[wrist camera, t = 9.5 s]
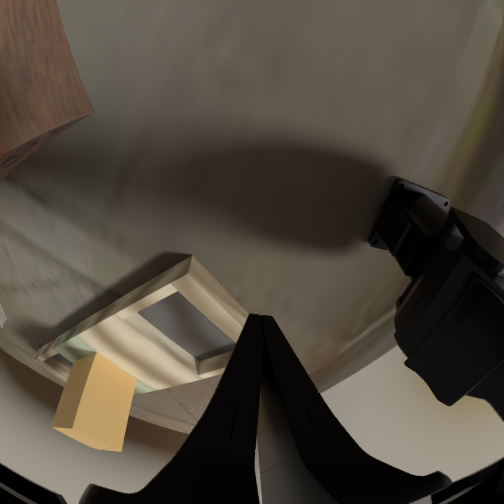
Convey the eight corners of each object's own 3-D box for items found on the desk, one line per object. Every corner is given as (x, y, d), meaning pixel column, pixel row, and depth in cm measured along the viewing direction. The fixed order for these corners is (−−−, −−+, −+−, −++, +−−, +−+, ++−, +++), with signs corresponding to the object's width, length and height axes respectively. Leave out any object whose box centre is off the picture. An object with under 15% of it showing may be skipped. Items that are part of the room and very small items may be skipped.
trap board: (192, 254, 24) (187, 273, 22) (273, 338, 31) (274, 356, 29) (39, 348, 36) (33, 359, 34) (98, 390, 43) (95, 401, 41)
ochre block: (96, 352, 30) (72, 428, 21) (136, 379, 33) (121, 451, 25) (74, 361, 32) (51, 427, 23) (110, 385, 36) (94, 448, 27)
